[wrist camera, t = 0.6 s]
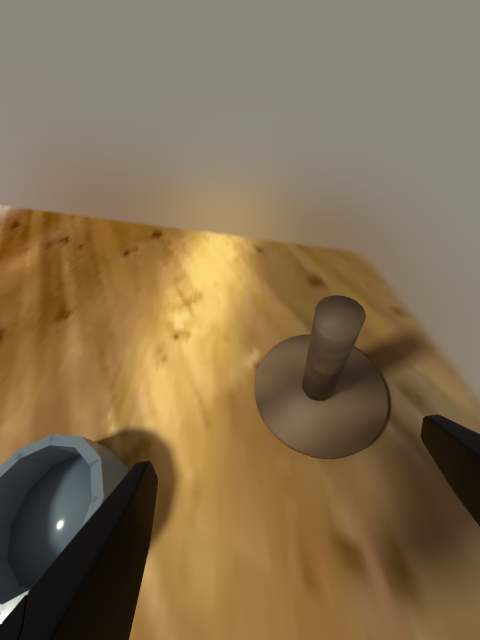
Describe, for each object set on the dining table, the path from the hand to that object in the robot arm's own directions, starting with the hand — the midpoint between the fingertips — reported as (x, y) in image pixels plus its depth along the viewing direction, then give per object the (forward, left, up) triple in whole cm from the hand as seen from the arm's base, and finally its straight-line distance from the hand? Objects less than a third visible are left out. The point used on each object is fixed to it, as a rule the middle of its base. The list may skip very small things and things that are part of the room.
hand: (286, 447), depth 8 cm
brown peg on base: (+6, -7, -16) cm, 18 cm away
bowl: (+6, +17, -16) cm, 23 cm away
